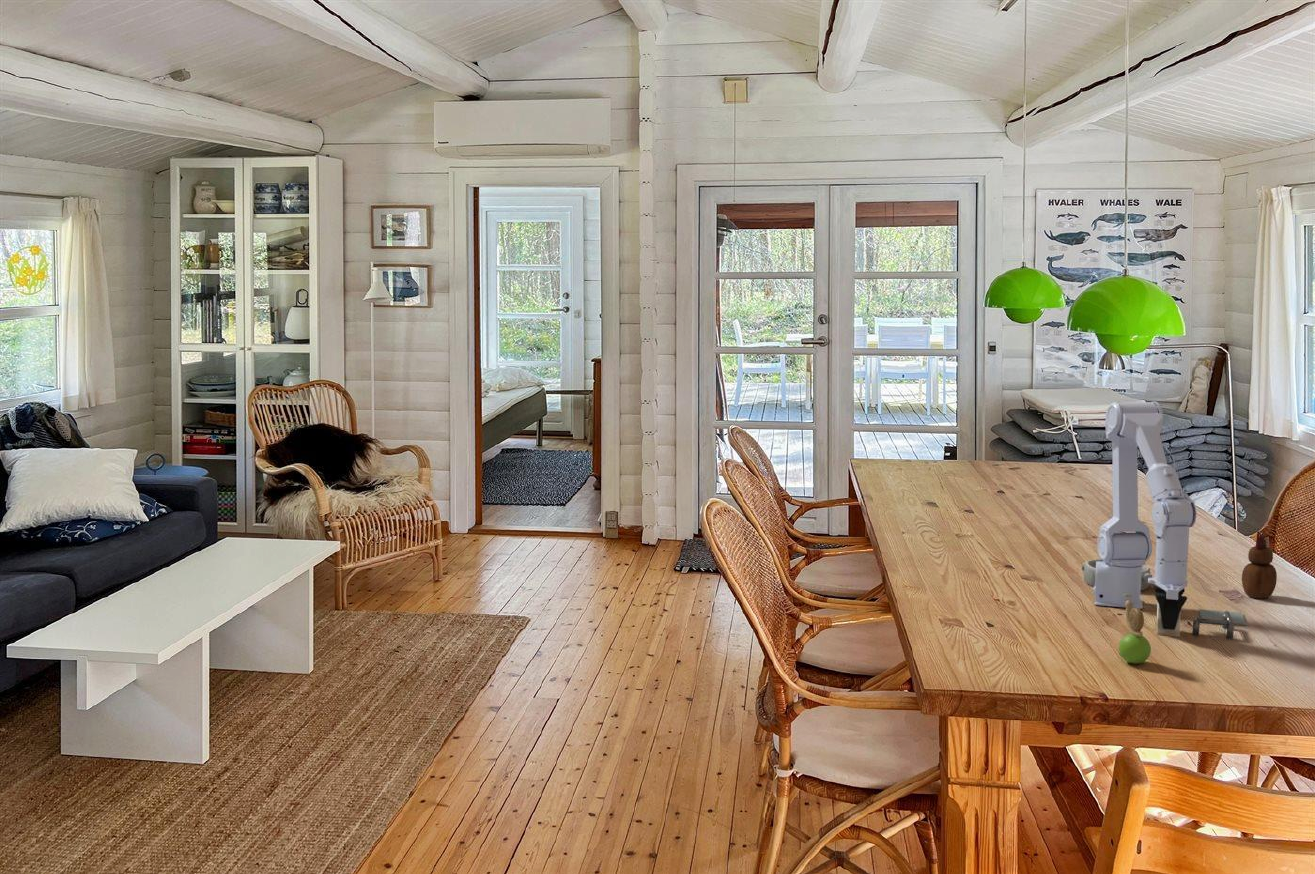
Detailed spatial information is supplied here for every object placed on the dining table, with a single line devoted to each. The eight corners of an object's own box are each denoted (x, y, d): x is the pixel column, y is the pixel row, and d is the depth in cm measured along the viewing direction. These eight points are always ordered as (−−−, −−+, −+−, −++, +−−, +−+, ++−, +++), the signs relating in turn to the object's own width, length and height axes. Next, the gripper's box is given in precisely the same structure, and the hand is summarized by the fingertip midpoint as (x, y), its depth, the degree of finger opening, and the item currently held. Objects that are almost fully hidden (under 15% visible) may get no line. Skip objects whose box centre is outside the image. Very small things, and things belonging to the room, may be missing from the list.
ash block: (1157, 634, 218) (1158, 604, 217) (1156, 628, 222) (1157, 599, 221) (1179, 636, 217) (1181, 606, 216) (1178, 630, 220) (1179, 601, 220)
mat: (1202, 621, 226) (1202, 619, 226) (1198, 610, 233) (1199, 609, 233) (1246, 625, 223) (1246, 623, 223) (1241, 614, 230) (1241, 612, 230)
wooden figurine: (1255, 601, 240) (1260, 533, 238) (1235, 594, 245) (1239, 528, 243) (1281, 598, 241) (1285, 531, 240) (1260, 592, 247) (1264, 526, 245)
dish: (1159, 593, 248) (1160, 571, 247) (1096, 593, 248) (1097, 572, 247) (1133, 576, 262) (1134, 556, 261) (1074, 577, 262) (1075, 556, 262)
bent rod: (1192, 635, 217) (1193, 617, 217) (1189, 623, 225) (1190, 606, 224) (1233, 639, 214) (1234, 621, 214) (1228, 627, 222) (1229, 609, 222)
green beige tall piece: (1139, 655, 206) (1142, 593, 204) (1155, 667, 199) (1159, 602, 198) (1110, 656, 206) (1113, 593, 204) (1125, 668, 199) (1129, 603, 198)
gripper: (1147, 548, 225) (1144, 613, 227) (1151, 565, 212) (1147, 634, 214) (1185, 551, 223) (1182, 616, 225) (1191, 568, 209) (1187, 637, 211)
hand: (1168, 625), depth 219 cm, fingers closed on ash block, 4 cm apart
